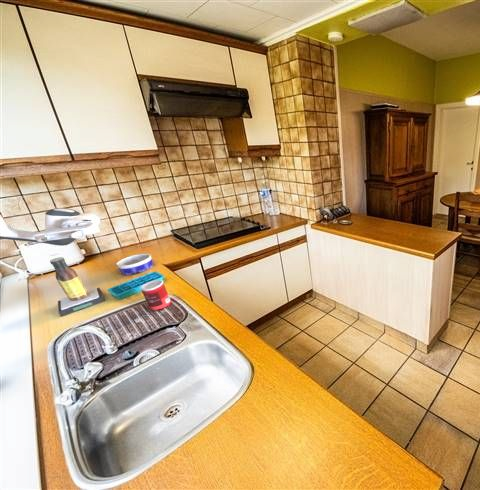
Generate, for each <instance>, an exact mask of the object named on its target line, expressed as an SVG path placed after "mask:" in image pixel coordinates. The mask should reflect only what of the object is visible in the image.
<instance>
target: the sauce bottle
mask: <svg viewBox="0 0 480 490" xmlns="http://www.w3.org/2000/svg"><path fill="white" fill-rule="evenodd" d="M65 260H66V259H65V258H64V257H63V256H60V257H55V258H53V259H50V260H49V262H50V265H52V267H53V269H54V271H55V279H56V281H57V283H58V284H59V286H60V287H61V289H62V291H63V292H64V293H65V295H66V297H68V298H69V299H70V300H72V301H74V300H79V299H82V298H84V297H86V296H87V295H88V292H87V290H88V289H87V288H86V286H85V285H84V283H83V281H82V279H81V278H80V277H79V275H78V273H77V272H76V270H75V269H73V268H72V267H71V266H70V267H69V265H68V264H67V262H66V261H65Z"/></svg>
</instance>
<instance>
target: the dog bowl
mask: <svg viewBox="0 0 480 490" xmlns="http://www.w3.org/2000/svg"><path fill="white" fill-rule="evenodd" d="M154 265H155V263H154V261H153V258H152V256H151V254H150V253H139V254H134V255H130V256H128V257H124V258H122V259H120V260H118V261H117V262H116V263H115V266H116V268H117V269H118V272H119V273H120V275H122V276H134V275H137V274H140V273H144V272H146V271H148V270H150V269H152V268H153V267H154Z"/></svg>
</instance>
